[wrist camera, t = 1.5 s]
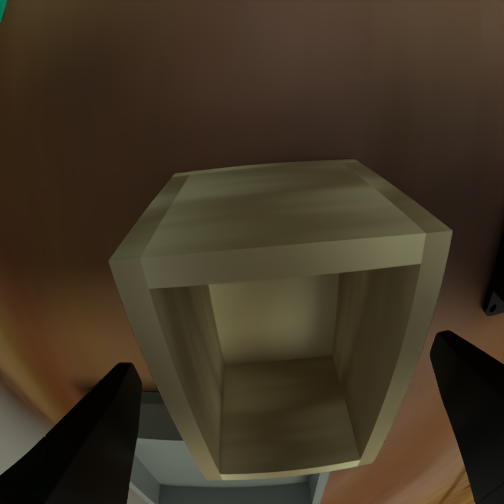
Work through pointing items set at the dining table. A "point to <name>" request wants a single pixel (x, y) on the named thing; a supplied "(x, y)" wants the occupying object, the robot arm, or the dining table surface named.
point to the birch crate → (282, 311)
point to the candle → (2, 8)
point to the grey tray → (191, 478)
